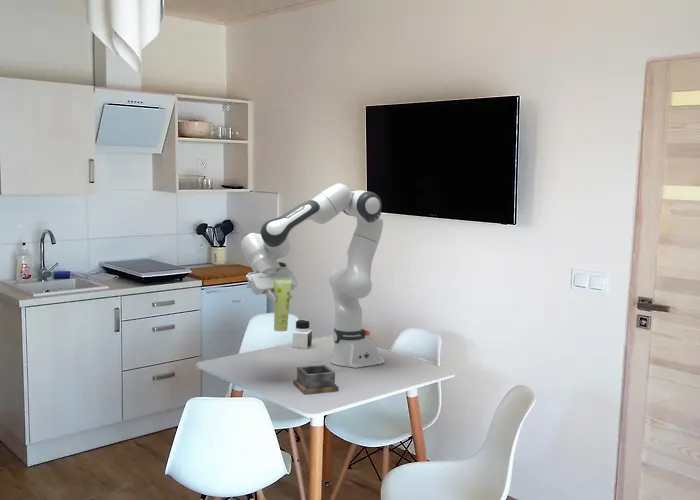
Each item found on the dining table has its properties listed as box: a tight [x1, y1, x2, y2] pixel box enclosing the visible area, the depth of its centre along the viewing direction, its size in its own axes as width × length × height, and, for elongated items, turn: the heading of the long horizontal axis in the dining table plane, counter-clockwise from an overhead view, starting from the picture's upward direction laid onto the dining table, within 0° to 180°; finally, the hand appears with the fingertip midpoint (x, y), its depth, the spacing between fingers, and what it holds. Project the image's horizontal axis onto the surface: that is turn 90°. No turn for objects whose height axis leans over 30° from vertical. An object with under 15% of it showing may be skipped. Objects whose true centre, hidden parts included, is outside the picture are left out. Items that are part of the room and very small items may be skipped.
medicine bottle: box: [292, 319, 313, 350], centre depth 307 cm, size 7×7×12 cm
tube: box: [273, 278, 292, 332], centre depth 252 cm, size 6×5×20 cm
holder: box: [292, 364, 339, 395], centre depth 249 cm, size 13×13×6 cm
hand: (283, 299), depth 252 cm, fingers closed on tube, 6 cm apart
